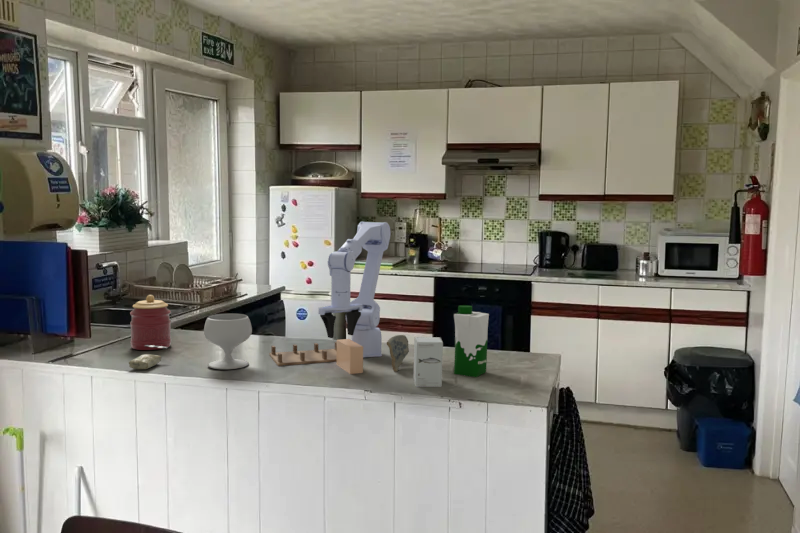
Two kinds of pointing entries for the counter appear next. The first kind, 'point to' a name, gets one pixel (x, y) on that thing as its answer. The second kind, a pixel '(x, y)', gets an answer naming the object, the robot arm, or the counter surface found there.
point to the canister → (150, 324)
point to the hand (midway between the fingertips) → (340, 336)
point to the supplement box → (428, 361)
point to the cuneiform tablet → (145, 360)
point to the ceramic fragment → (398, 350)
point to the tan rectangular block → (350, 356)
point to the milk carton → (470, 342)
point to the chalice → (227, 337)
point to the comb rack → (303, 356)
